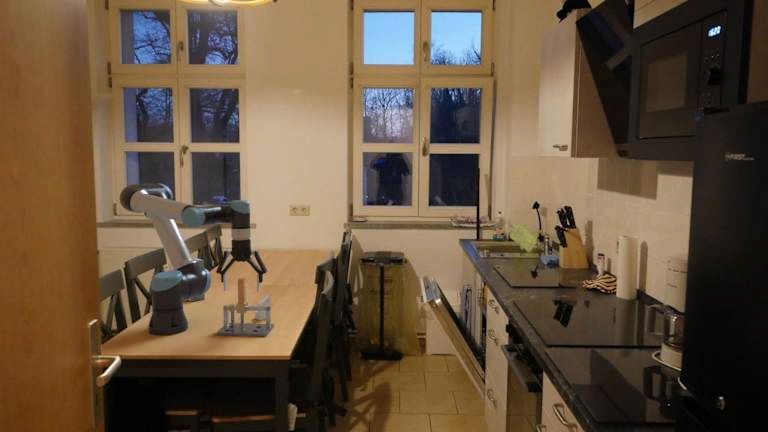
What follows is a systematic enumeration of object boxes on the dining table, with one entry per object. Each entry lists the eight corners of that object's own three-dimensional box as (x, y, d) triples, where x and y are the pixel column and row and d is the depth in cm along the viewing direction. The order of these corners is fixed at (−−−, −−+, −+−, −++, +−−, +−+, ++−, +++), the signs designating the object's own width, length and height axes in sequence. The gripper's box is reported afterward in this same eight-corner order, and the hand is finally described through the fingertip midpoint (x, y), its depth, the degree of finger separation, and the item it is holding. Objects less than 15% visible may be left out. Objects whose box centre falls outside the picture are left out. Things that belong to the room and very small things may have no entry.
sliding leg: (236, 326, 222) (235, 279, 220) (239, 324, 226) (238, 277, 224) (245, 327, 222) (244, 279, 220) (248, 324, 226) (247, 278, 224)
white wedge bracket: (278, 309, 245) (270, 295, 241) (262, 325, 239) (254, 310, 235) (273, 308, 247) (265, 293, 243) (257, 323, 241) (249, 308, 237)
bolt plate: (216, 335, 216) (216, 332, 216) (226, 325, 229) (226, 322, 229) (266, 336, 215) (266, 333, 215) (274, 326, 228) (274, 323, 228)
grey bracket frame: (223, 327, 223) (223, 305, 222) (225, 325, 226) (224, 304, 225) (269, 328, 222) (269, 306, 222) (270, 326, 225) (270, 304, 224)
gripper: (207, 239, 217) (208, 292, 219) (269, 240, 216) (270, 292, 218) (213, 237, 225) (215, 287, 227) (273, 237, 224) (274, 288, 226)
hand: (242, 290), depth 222 cm, fingers open, 13 cm apart
